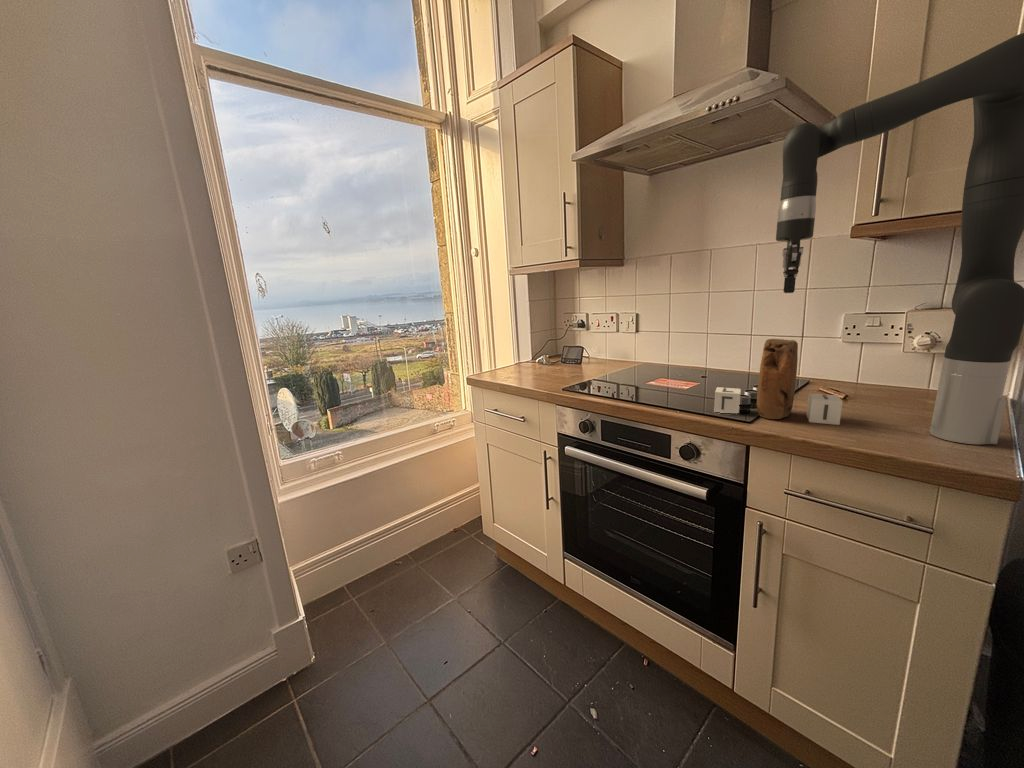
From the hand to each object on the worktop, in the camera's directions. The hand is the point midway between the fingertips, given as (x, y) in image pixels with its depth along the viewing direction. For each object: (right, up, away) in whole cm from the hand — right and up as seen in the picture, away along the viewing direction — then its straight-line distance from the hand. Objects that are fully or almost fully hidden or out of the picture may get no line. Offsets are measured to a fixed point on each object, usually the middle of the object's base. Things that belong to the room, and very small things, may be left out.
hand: (788, 292), depth 103 cm
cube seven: (-9, -30, +12) cm, 34 cm away
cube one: (+9, -32, +1) cm, 33 cm away
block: (0, -31, +6) cm, 32 cm away
